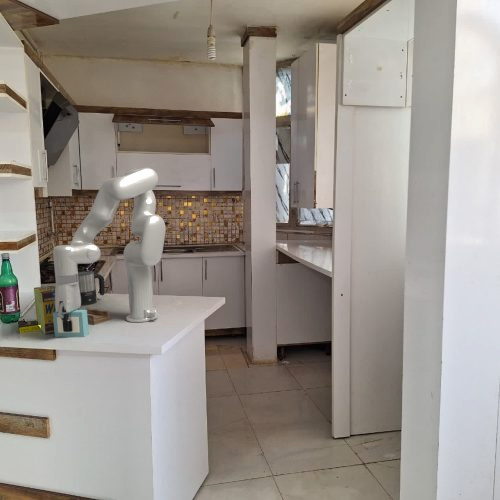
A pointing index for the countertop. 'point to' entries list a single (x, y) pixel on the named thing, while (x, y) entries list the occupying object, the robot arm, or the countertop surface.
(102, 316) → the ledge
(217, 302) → the countertop surface
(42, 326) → the protein box
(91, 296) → the milk frother
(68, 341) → the countertop surface
